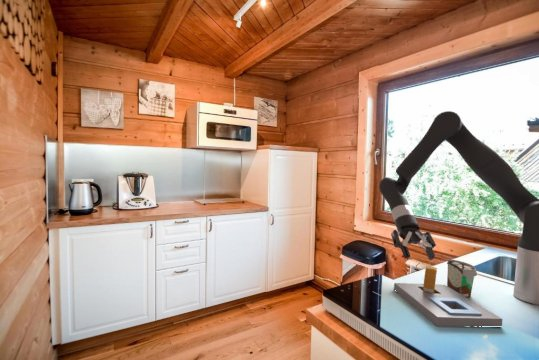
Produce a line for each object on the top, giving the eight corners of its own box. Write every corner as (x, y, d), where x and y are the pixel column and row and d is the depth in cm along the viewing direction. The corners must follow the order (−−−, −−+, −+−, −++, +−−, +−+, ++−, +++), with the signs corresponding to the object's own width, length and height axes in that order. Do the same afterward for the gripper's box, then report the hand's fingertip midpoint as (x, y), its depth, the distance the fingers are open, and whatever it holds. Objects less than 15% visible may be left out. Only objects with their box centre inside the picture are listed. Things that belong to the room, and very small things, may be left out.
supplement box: (434, 301, 87) (436, 269, 87) (422, 297, 89) (424, 267, 89) (434, 297, 90) (437, 267, 90) (422, 294, 92) (425, 264, 91)
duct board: (444, 291, 95) (444, 283, 95) (501, 328, 73) (502, 317, 73) (393, 290, 94) (394, 281, 94) (436, 326, 72) (437, 315, 72)
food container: (483, 303, 88) (485, 272, 87) (461, 300, 89) (464, 269, 89) (463, 287, 100) (466, 260, 100) (445, 285, 101) (447, 258, 101)
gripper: (390, 212, 103) (405, 252, 92) (427, 214, 104) (446, 254, 93) (382, 224, 108) (395, 262, 97) (417, 225, 109) (434, 264, 98)
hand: (420, 258), depth 95 cm, fingers open, 8 cm apart
